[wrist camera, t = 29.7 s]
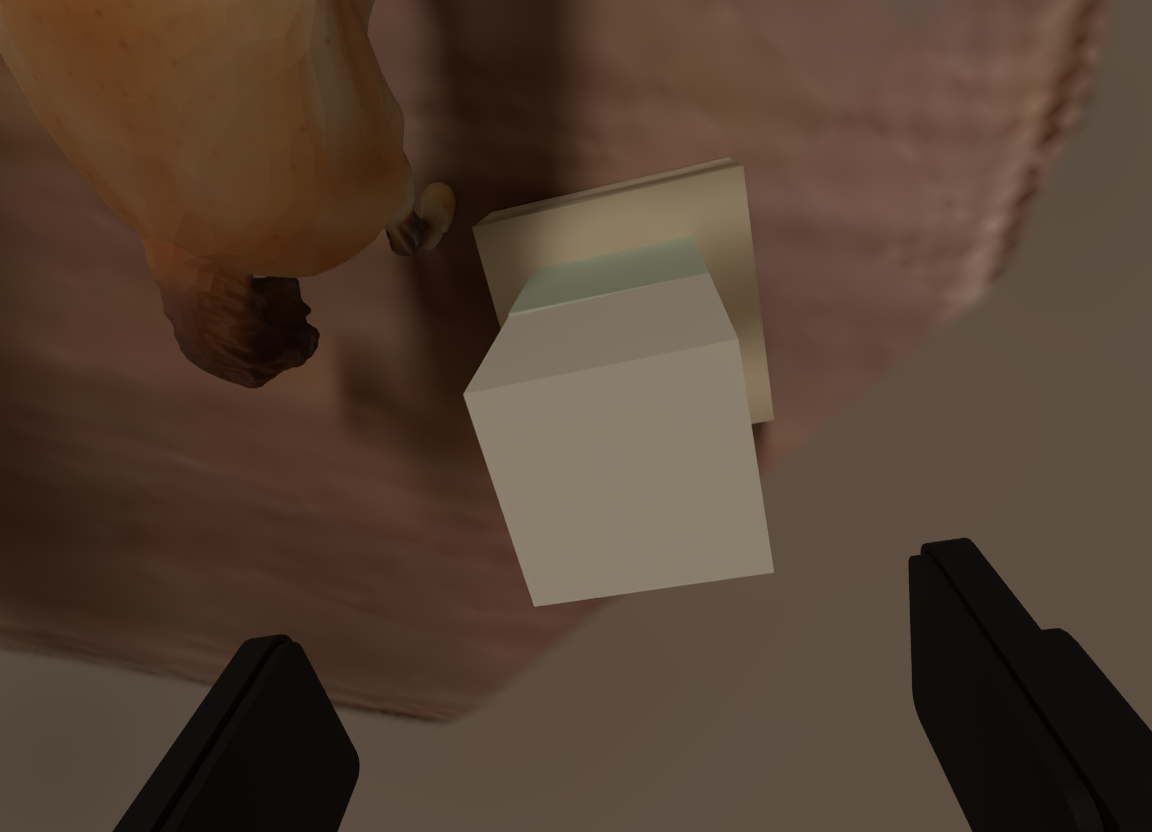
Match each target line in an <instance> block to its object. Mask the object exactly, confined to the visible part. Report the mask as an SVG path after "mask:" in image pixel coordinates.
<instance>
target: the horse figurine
mask: <svg viewBox="0 0 1152 832" xmlns="http://www.w3.org/2000/svg"><path fill="white" fill-rule="evenodd" d="M373 4H374V0H0V53H1V55H2V57H3V58H4V60H5V62H6V64H7V65H8V67H9V69H10V70H11V72H12V74H13V76H14V77H15V79H16V81H17V83H18V84H19V86H20V88H21V89H22V91H23V93H24V95H25V96H26V98H27V100H28V101H29V103H30V105H31V107H32V108H33V110H34V112H35V114H36V115H37V117H38V119H39V120H40V122H41V123H42V124H43V126H44V127H45V128H46V130H47V131H48V132H49V134H50V135H51V136H52V138H53V139H54V140H55V142H56V143H57V144H58V146H59V147H60V148H61V150H62V151H63V152H64V154H65V155H66V156H67V158H68V159H69V160H70V162H71V163H72V164H73V166H74V167H75V168H76V169H77V171H78V172H79V173H80V174H81V175H82V176H83V178H84V179H85V180H86V181H87V182H88V183H89V185H90V186H91V187H92V188H93V189H94V190H95V192H96V193H97V194H98V195H99V196H100V197H101V199H102V200H103V201H104V202H105V203H106V204H107V206H108V207H109V208H110V209H111V210H112V211H113V213H114V214H115V215H116V216H117V217H118V218H119V219H120V220H121V221H122V222H123V223H124V224H125V225H126V226H127V227H128V228H130V229H131V230H132V231H133V232H135V233H136V234H137V235H138V236H139V238H140V239H141V241H142V242H143V245H144V248H145V251H146V259H147V265H148V267H149V269H150V271H151V274H152V276H153V278H154V281H155V282H156V284H157V285H158V286H159V289H160V293H161V297H162V302H163V311H164V313H165V315H166V316H167V318H168V319H169V320H170V321H171V323H172V325H173V326H174V335H175V337H176V339H177V341H178V343H179V347H180V350H181V351H182V352H183V354H184V355H185V356H186V358H187V359H188V360H189V361H191V362H192V363H193V364H195V365H196V366H198V367H199V368H201V369H202V370H204V371H206V372H208V373H210V374H212V375H214V376H216V377H219V378H221V379H224V380H226V381H229V382H233V383H237V384H240V385H242V386H245V387H247V388H258V387H262V386H263V385H264V384H265V383H266V382H268V381H269V380H271V379H273V378H275V377H276V376H277V375H278V374H279V373H281V372H282V371H284V370H288V369H290V368H292V367H299V366H301V365H303V364H304V363H305V362H306V360H307V359H309V358H310V357H311V356H312V355H313V354H314V352H315V351H316V349H317V347H318V340H319V337H320V334H319V332H318V330H317V329H316V328H315V327H313V326H311V325H310V324H308V323H307V321H306V316H307V315H308V314H310V312H311V309H310V307H309V306H308V305H306V304H305V303H304V302H303V301H302V299H301V293H300V287H299V281H298V280H297V279H296V278H299V277H307V276H314V275H317V274H320V273H322V272H325V271H327V270H330V269H332V268H335V267H337V266H338V265H340V264H342V263H344V262H346V261H348V260H349V259H351V258H352V257H354V256H355V255H356V254H358V253H359V252H361V251H362V250H363V249H365V248H366V247H367V246H368V245H369V244H370V243H371V242H372V241H373V240H375V239H376V238H377V236H378V234H379V233H380V231H381V230H382V229H383V228H385V229H386V233H387V237H388V239H389V240H390V246H391V248H392V250H393V251H394V252H395V253H396V254H397V255H401V256H409V255H412V254H413V253H415V252H416V251H417V250H418V249H419V247H422V248H425V249H433V248H434V247H435V246H436V245H437V244H438V243H439V242H440V240H441V237H442V235H443V233H445V232H447V231H448V229H449V227H450V225H451V223H452V221H453V217H454V212H455V207H456V199H455V195H454V193H453V191H452V189H451V188H450V187H449V186H448V185H446V184H444V183H442V182H433V183H431V184H428V186H427V187H426V188H425V189H424V191H423V193H422V195H421V200H420V218H419V217H418V216H417V215H416V213H415V212H414V207H415V202H416V192H415V183H414V178H413V174H412V171H411V167H410V164H409V161H408V159H407V157H406V155H405V153H404V151H403V133H404V118H403V113H402V110H401V108H400V106H399V104H398V102H397V101H396V99H395V98H394V96H393V94H392V92H391V90H390V88H389V86H388V84H387V82H386V80H385V78H384V76H383V74H382V72H381V69H380V67H379V64H378V61H377V59H376V56H375V54H374V51H373V48H372V46H371V43H370V41H369V38H368V35H367V31H368V22H369V18H370V14H371V11H372V7H373ZM253 275H261V276H269V277H265V278H253Z"/></svg>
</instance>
